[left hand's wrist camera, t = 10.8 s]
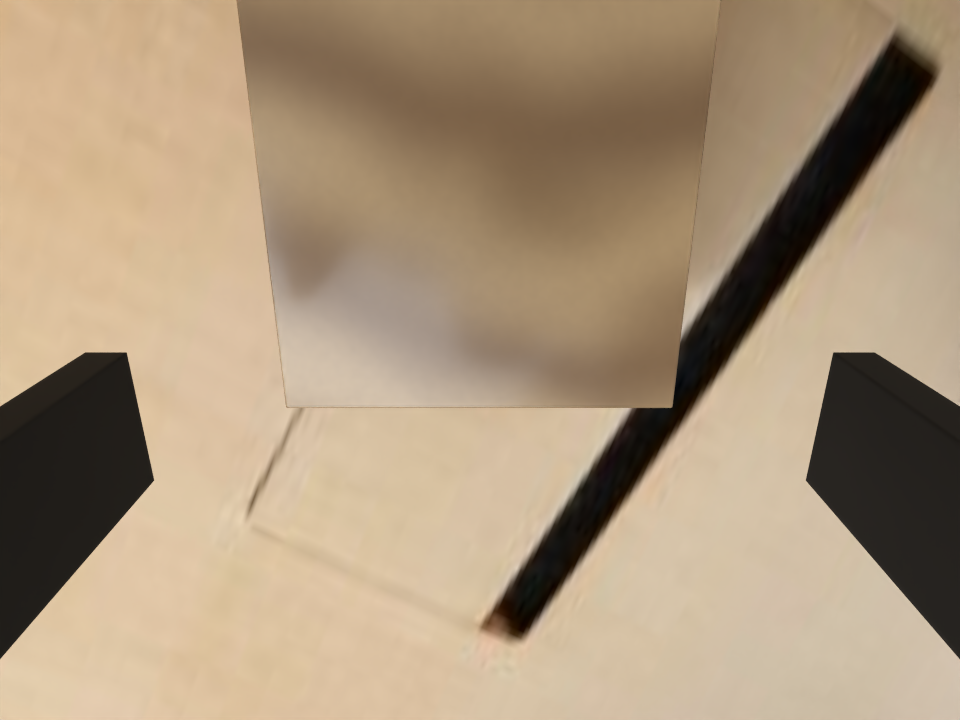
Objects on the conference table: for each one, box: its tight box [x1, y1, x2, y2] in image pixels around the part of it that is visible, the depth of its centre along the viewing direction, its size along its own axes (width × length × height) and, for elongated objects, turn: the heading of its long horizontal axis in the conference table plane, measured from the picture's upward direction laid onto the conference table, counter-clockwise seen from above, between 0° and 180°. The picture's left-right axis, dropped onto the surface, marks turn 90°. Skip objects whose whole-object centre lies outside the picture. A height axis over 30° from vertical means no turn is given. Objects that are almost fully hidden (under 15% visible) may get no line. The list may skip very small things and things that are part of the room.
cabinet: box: [237, 0, 721, 408], centre depth 20 cm, size 17×11×9 cm, turn 0°
